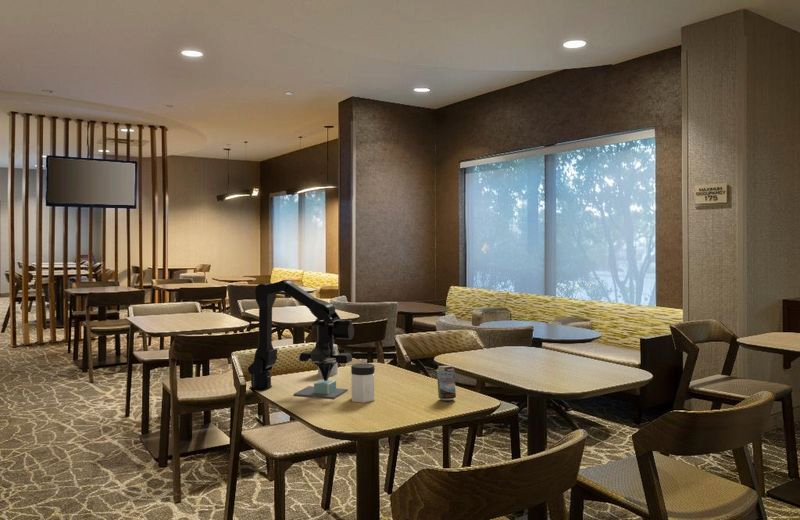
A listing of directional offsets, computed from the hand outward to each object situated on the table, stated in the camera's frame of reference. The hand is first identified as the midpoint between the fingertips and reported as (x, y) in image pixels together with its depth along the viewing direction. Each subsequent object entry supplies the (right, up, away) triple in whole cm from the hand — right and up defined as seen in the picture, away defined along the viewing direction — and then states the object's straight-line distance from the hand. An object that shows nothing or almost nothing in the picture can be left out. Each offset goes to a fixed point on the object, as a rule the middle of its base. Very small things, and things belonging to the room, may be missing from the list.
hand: (325, 380), depth 221 cm
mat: (-2, -5, +1) cm, 5 cm away
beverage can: (+43, -5, -9) cm, 44 cm away
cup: (-3, -4, +33) cm, 33 cm away
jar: (+14, -5, -9) cm, 17 cm away
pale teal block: (-3, -2, +1) cm, 4 cm away
